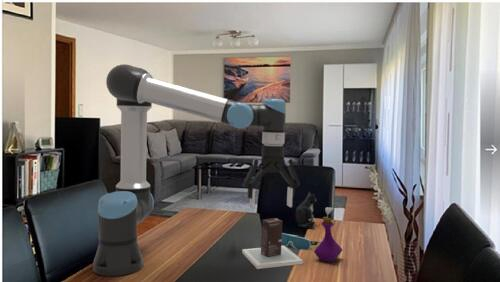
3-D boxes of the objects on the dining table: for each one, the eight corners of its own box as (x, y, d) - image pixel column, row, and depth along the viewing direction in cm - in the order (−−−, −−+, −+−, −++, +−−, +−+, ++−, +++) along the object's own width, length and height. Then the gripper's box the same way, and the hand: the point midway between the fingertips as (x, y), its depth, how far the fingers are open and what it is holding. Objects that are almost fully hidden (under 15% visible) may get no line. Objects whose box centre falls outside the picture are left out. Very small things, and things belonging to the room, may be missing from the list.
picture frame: (257, 269, 134) (257, 265, 133) (242, 252, 149) (242, 249, 149) (302, 263, 139) (302, 260, 138) (283, 248, 154) (283, 245, 154)
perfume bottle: (334, 265, 137) (335, 211, 136) (313, 261, 141) (314, 208, 140) (342, 258, 144) (343, 207, 143) (321, 254, 148) (323, 204, 146)
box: (267, 258, 140) (268, 222, 139) (260, 254, 144) (261, 219, 143) (282, 254, 143) (283, 220, 142) (274, 251, 147) (275, 217, 146)
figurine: (322, 228, 180) (323, 194, 179) (301, 231, 177) (302, 195, 176) (311, 223, 189) (312, 190, 188) (291, 225, 186) (292, 191, 185)
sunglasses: (274, 244, 159) (275, 231, 159) (295, 240, 171) (296, 228, 171) (305, 252, 150) (307, 238, 150) (326, 248, 162) (327, 235, 162)
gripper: (241, 145, 133) (239, 211, 135) (311, 146, 141) (309, 207, 143) (234, 143, 140) (232, 206, 142) (302, 144, 148) (299, 203, 150)
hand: (271, 207), depth 142 cm, fingers open, 13 cm apart
